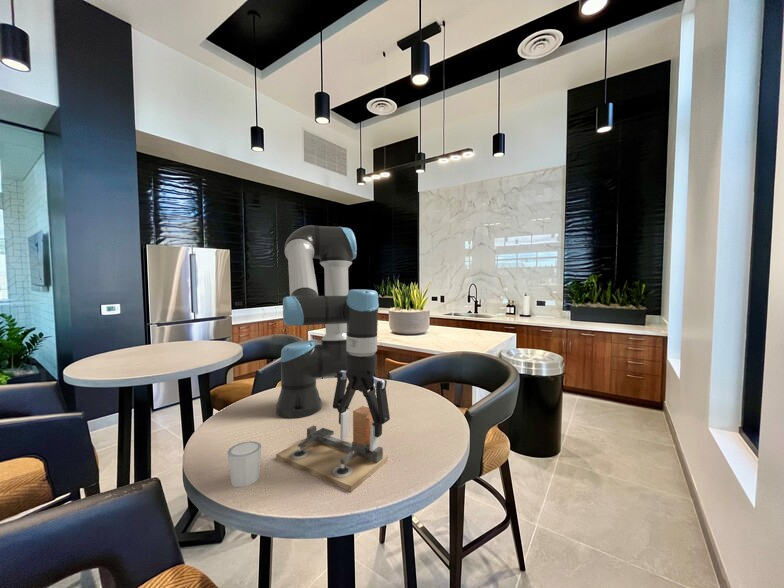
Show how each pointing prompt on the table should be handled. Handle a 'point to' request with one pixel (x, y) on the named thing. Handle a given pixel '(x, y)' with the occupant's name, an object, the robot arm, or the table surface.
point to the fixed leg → (315, 438)
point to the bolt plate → (333, 461)
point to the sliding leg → (359, 434)
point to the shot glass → (244, 463)
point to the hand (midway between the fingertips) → (359, 442)
